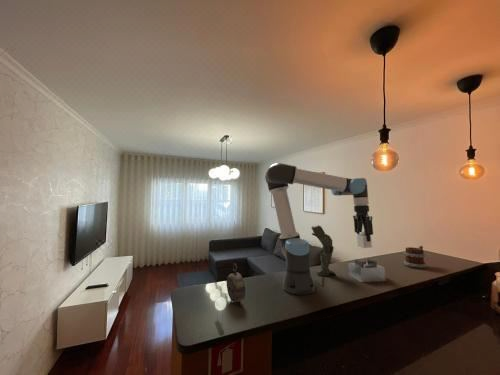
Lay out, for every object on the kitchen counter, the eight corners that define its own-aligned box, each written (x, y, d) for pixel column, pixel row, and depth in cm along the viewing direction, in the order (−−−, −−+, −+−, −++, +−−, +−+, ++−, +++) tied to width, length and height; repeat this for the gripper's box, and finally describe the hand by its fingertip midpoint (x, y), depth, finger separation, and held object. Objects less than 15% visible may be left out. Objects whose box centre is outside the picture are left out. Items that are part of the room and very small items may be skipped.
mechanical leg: (339, 271, 125) (324, 222, 128) (343, 275, 118) (328, 223, 121) (316, 276, 126) (303, 228, 129) (319, 280, 119) (305, 229, 122)
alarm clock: (246, 307, 83) (246, 265, 85) (234, 310, 81) (233, 267, 82) (235, 296, 93) (235, 259, 94) (224, 299, 90) (224, 261, 92)
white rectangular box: (361, 282, 109) (360, 263, 110) (348, 275, 120) (348, 258, 120) (388, 280, 111) (387, 262, 112) (373, 273, 122) (372, 257, 123)
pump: (363, 248, 113) (362, 231, 114) (357, 246, 118) (356, 230, 119) (372, 247, 114) (370, 230, 114) (365, 245, 119) (364, 229, 119)
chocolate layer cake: (398, 265, 138) (399, 242, 140) (412, 266, 143) (412, 244, 145) (418, 270, 127) (419, 245, 129) (432, 271, 132) (432, 247, 134)
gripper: (378, 204, 109) (382, 249, 107) (357, 205, 127) (360, 243, 125) (365, 205, 109) (369, 250, 106) (345, 205, 126) (348, 244, 124)
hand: (364, 246), depth 116 cm, fingers closed on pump, 5 cm apart
